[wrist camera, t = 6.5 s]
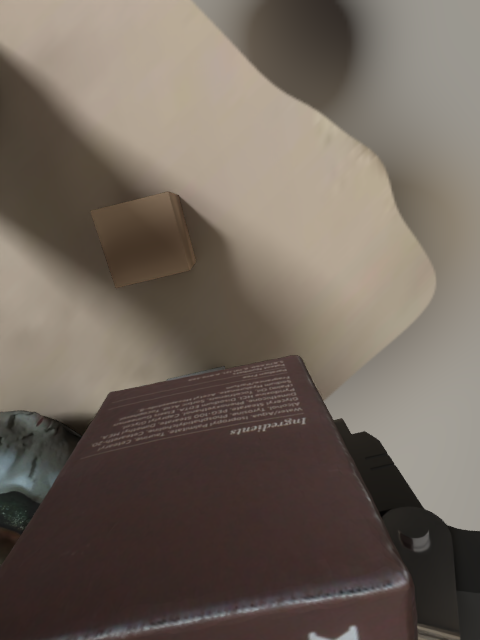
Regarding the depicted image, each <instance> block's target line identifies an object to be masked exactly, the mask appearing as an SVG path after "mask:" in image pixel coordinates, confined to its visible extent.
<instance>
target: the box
mask: <svg viewBox="0 0 480 640" xmlns="http://www.w3.org/2000/svg"><path fill="white" fill-rule="evenodd" d="M417 639H418V630H417V611H416V603H415V587H414V583H413V580H412V577H411V574H410V572H409V571H408V569H407V567H406V566H405V564H404V562H403V561H402V559H401V557H400V555H399V553H398V551H397V549H396V547H395V545H394V544H393V542H392V540H391V537H390V535H389V533H388V531H387V529H386V527H385V524H384V522H383V520H382V518H381V516H380V514H379V511H378V509H377V507H376V505H375V503H374V501H373V498H372V496H371V494H370V492H369V491H368V489H367V487H366V485H365V484H364V482H363V479H362V477H361V475H360V473H359V471H358V469H357V467H356V465H355V463H354V460H353V459H352V457H351V455H350V453H349V452H348V450H347V448H346V446H345V443H344V441H343V439H342V437H341V435H340V433H339V431H338V429H337V427H336V425H335V423H334V421H333V419H332V416H331V415H330V413H329V411H328V409H327V407H326V405H325V404H324V402H323V400H322V398H321V396H320V394H319V392H318V390H317V389H316V387H315V385H314V383H313V381H312V379H311V376H310V375H309V373H308V371H307V369H306V366H305V364H304V362H303V360H302V359H301V357H300V356H298V355H291V356H287V357H283V358H278V359H273V360H267V361H263V362H257V363H253V364H248V365H242V366H238V367H233V368H230V369H223V370H218V371H213V372H209V373H204V374H199V375H193V376H188V377H183V378H179V379H175V380H169V381H164V382H158V383H154V384H150V385H144V386H140V387H135V388H130V389H125V390H120V391H114V392H110V393H109V394H108V395H107V398H106V399H105V401H104V402H103V404H102V406H101V408H100V409H99V411H98V412H97V414H96V416H95V417H94V419H93V420H92V422H91V423H90V425H89V426H88V428H87V430H86V432H85V433H84V434H83V436H82V438H81V440H80V441H79V442H78V443H77V446H76V447H75V449H74V451H73V452H72V454H71V455H70V457H69V459H68V460H67V462H66V463H65V465H64V467H63V468H62V469H61V471H60V473H59V474H58V476H57V478H56V479H55V481H54V483H53V485H52V487H51V488H50V490H49V491H48V493H47V495H46V496H45V498H44V499H43V501H42V503H41V504H40V506H39V507H38V509H37V510H36V512H35V513H34V515H33V517H32V519H31V520H30V522H29V523H28V525H27V526H26V528H25V530H24V531H23V533H22V534H21V536H20V538H19V539H18V541H17V542H16V544H15V545H14V547H13V548H12V550H11V551H10V553H9V554H8V556H7V557H6V559H5V560H4V562H3V563H2V565H1V566H0V640H417Z"/></svg>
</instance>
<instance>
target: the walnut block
mask: <svg viewBox="0 0 480 640" xmlns="http://www.w3.org/2000/svg"><path fill="white" fill-rule="evenodd" d="M90 212H91V215H92V218H93V221H94V224H95V227H96V230H97V233H98V236H99V239H100V243H101V246H102V249H103V252H104V255H105V258H106V261H107V264H108V267H109V270H110V273H111V276H112V279H113V282H114V285H115V288H119V287H123V286H127V285H131V284H136V283H140V282H144V281H148V280H152V279H156V278H161V277H165V276H169V275H173V274H177V273H181V272H186V271H190V269H191V268H192V267H193V265H194V264H195V263H196V259H195V255H194V251H193V247H192V244H191V240H190V236H189V232H188V229H187V225H186V221H185V217H184V214H183V210H182V206H181V202H180V199H179V195H176V194H173V193H171V192H164V193H160V194H156V195H152V196H148V197H144V198H140V199H136V200H132V201H128V202H124V203H120V204H116V205H112V206H108V207H104V208H100V209H96V210H92V211H90Z"/></svg>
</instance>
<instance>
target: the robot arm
mask: <svg viewBox="0 0 480 640" xmlns="http://www.w3.org/2000/svg"><path fill="white" fill-rule="evenodd" d="M333 421H334V423H335V425H336V427H337V429H338V431H339V433H340V435H341V437H342V439H343V441H344V443H345V446H346V448H347V450H348V452H349V453H350V455H351V457H352V459H353V460H354V463H355V465H356V467H357V469H358V471H359V473H360V475H361V477H362V479H363V482H364V484H365V485H366V487H367V489H368V491H369V492H370V494H371V496H372V498H373V501H374V503H375V505H376V507H377V509H378V511H379V514H380V516H381V518H382V520H383V522H384V524H385V527H386V529H387V531H388V533H389V535H390V537H391V540H392V542H393V544H394V545H395V547H396V549H397V551H398V553H399V555H400V557H401V559H402V561H403V562H404V564H405V566H406V567H407V569H408V571H409V572H410V574H411V577H412V580H413V583H414V587H415V603H416V611H417V630H418V639H417V640H480V531H468V530H461V529H457V528H454V527H451V526H447V525H446V524H445V523H444V521H442V519H440V518H439V517H438V516H437V515H435V514H433V513H432V512H430V511H428V510H425V509H424V508H423V507H422V505H421V503H420V502H419V500H418V499H417V497H416V496H415V494H414V493H413V491H412V490H411V488H410V487H409V485H408V484H407V482H406V481H405V479H404V478H403V476H402V475H401V473H400V472H399V470H398V469H397V467H396V466H395V465H394V462H393V461H392V459H391V458H390V456H389V455H388V454H387V452H386V450H385V449H384V447H383V446H382V444H381V443H380V441H379V440H377V439H376V438H375V437H373V436H371V435H370V434H368V433H367V432H360V433H355V434H351V433H350V431H349V429H348V427H347V426H346V424H345V422H344V420H343V419H342V418H341V419H337V420H333Z"/></svg>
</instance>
